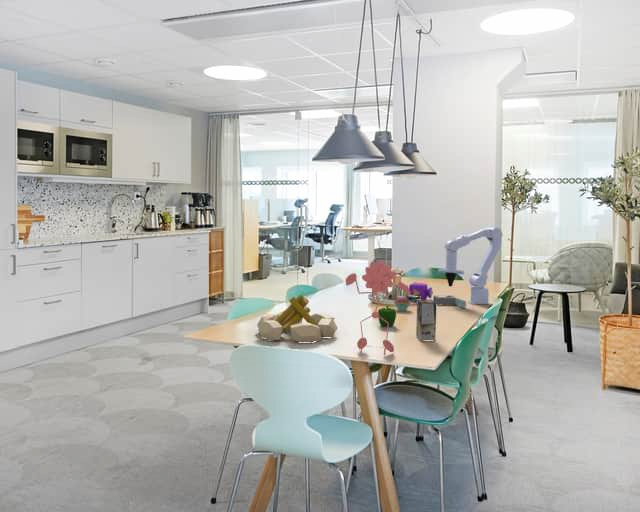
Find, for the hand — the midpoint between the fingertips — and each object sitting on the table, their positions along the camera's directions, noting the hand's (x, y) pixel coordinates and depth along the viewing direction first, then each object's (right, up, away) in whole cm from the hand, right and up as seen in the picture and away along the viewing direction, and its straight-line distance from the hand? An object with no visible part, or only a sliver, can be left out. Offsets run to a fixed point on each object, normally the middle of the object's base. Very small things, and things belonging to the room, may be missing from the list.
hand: (450, 286), depth 335 cm
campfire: (-83, -17, -78) cm, 115 cm away
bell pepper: (-42, -16, -59) cm, 74 cm away
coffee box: (-29, -18, -84) cm, 91 cm away
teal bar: (+4, -11, -8) cm, 14 cm away
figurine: (-51, -20, -105) cm, 119 cm away
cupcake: (-30, -12, -20) cm, 38 cm away
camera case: (-3, -10, +1) cm, 10 cm away
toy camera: (-15, -9, +12) cm, 21 cm away
